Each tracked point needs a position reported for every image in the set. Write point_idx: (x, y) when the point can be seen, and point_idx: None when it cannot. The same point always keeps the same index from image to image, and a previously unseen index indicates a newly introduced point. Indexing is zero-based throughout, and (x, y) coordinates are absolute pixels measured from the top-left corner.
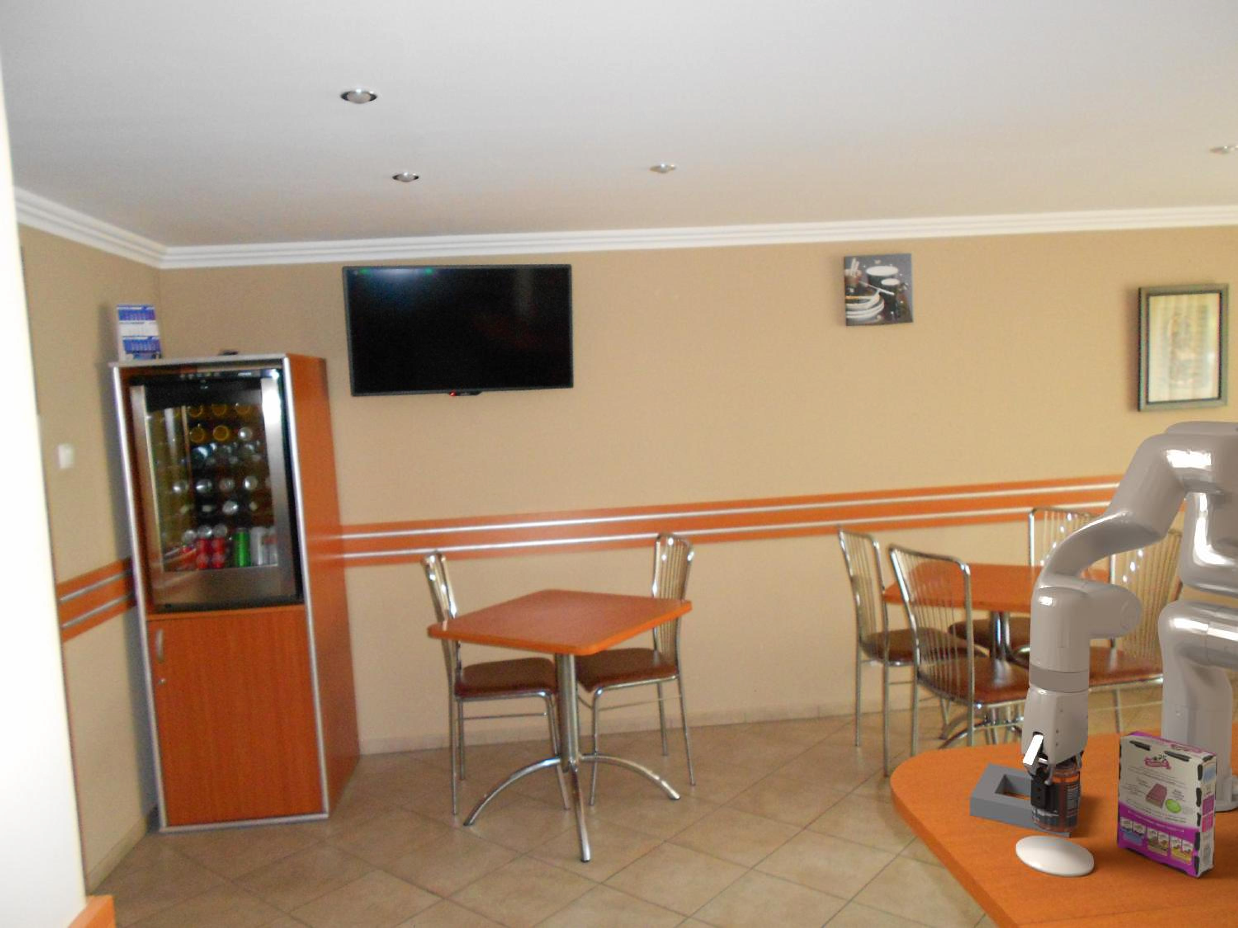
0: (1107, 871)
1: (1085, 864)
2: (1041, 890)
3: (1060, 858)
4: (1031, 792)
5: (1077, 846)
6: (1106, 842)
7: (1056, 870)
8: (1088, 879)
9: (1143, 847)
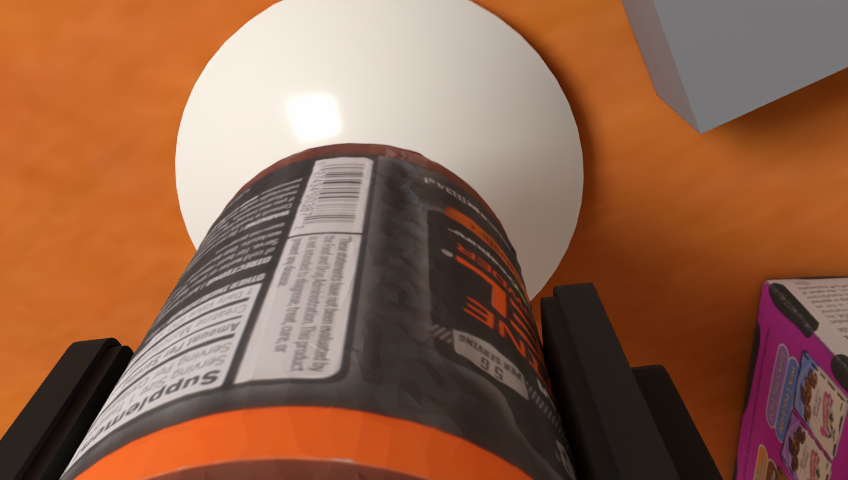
0: None
1: None
2: (72, 327)
3: None
4: (25, 419)
5: (556, 214)
6: (761, 231)
7: None
8: None
9: (760, 421)
